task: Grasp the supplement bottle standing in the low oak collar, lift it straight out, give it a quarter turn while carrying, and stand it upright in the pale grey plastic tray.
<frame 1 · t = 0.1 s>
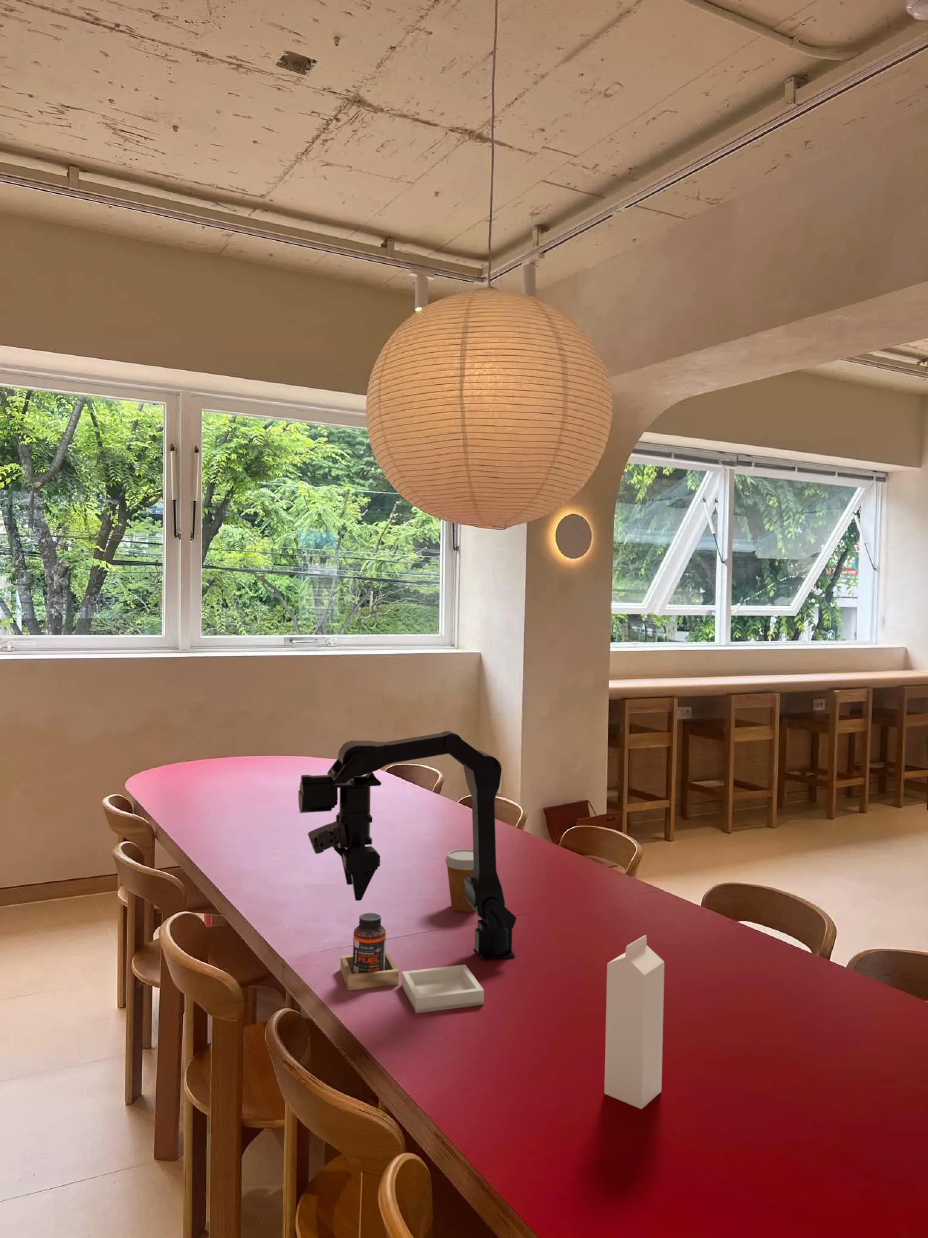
hand: (353, 892, 167), 15 cm above the table, fingers open, 9 cm apart
milk: (632, 1094, 127), on the table
supplement bottle: (368, 978, 164), resting in collar
collar: (368, 977, 164), on the table
disposable coffee cup: (465, 908, 201), on the table
tray: (441, 995, 157), on the table
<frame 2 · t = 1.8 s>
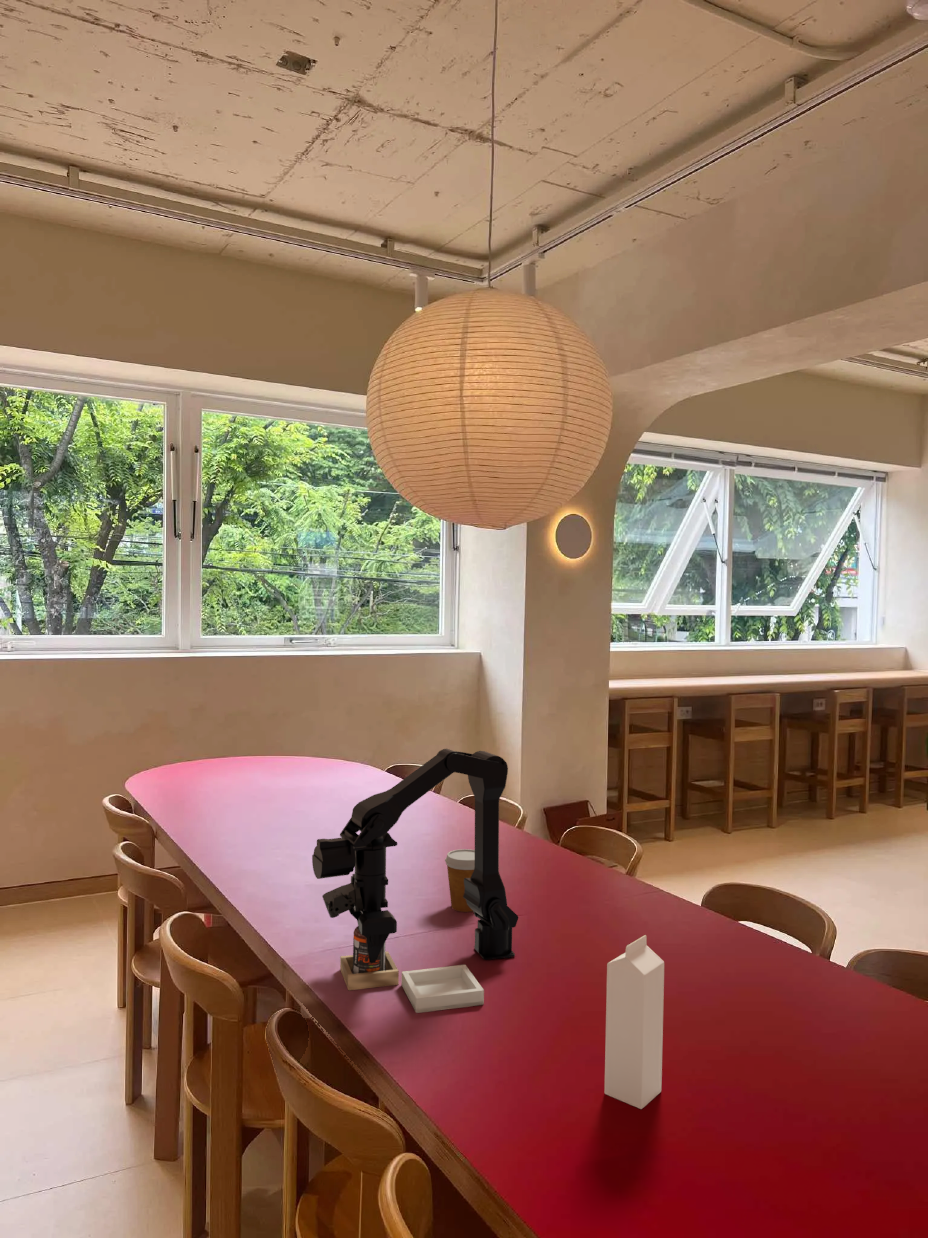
hand: (369, 955, 164), 4 cm above the table, fingers closed on supplement bottle, 6 cm apart
supplement bottle: (368, 978, 164), resting in collar, touching gripper
everything else where it was.
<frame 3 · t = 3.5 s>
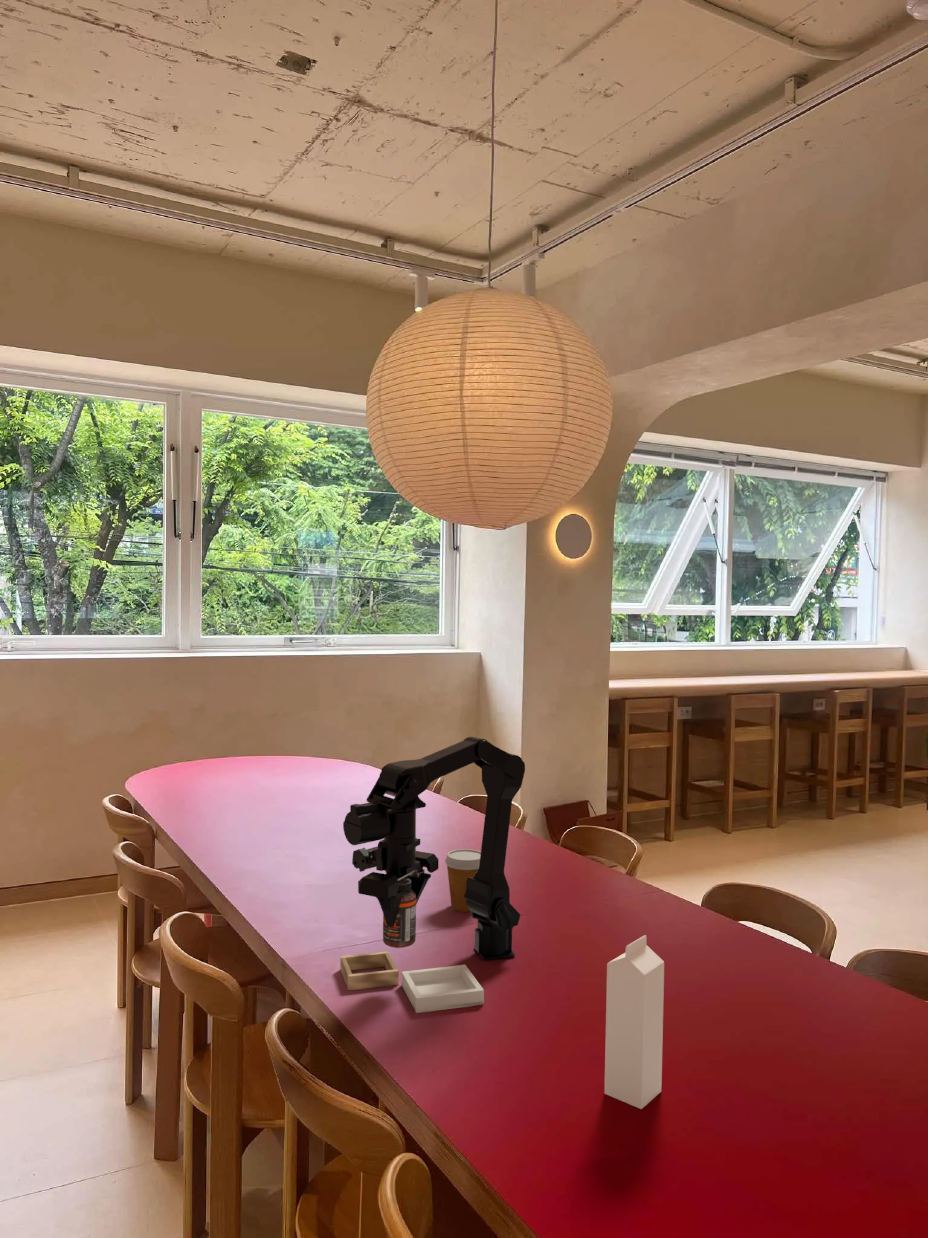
hand: (399, 920, 161), 12 cm above the table, fingers closed on supplement bottle, 6 cm apart
supplement bottle: (399, 944, 161), point 8 cm above the table, touching gripper
everything else where it was.
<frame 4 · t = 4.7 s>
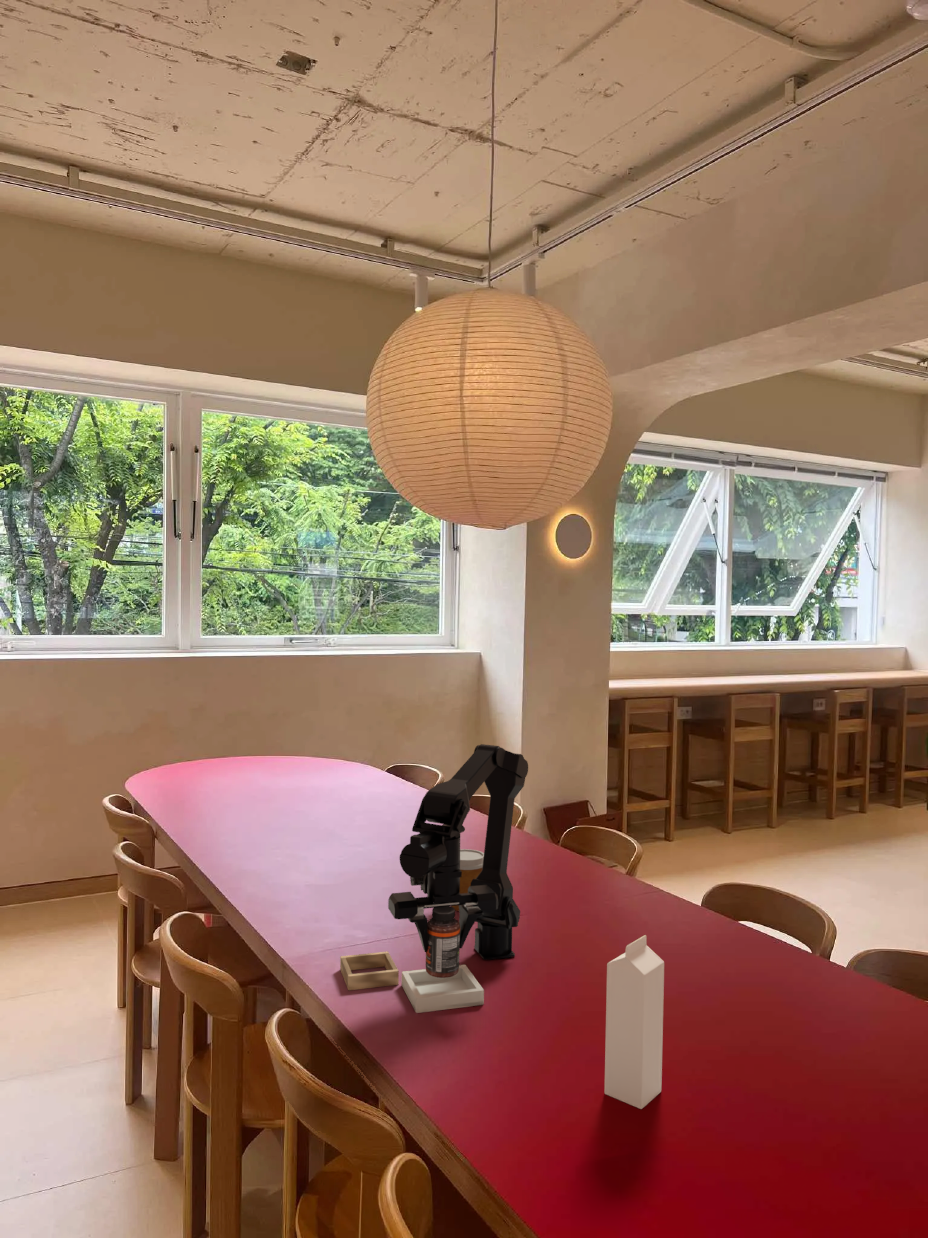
hand: (442, 949, 157), 8 cm above the table, fingers closed on supplement bottle, 6 cm apart
supplement bottle: (442, 973, 157), point 4 cm above the table, touching gripper
everything else where it was.
when the fingers open (6 cm above the table, at t = 5.5 s): supplement bottle drops 1 cm, resting on tray.
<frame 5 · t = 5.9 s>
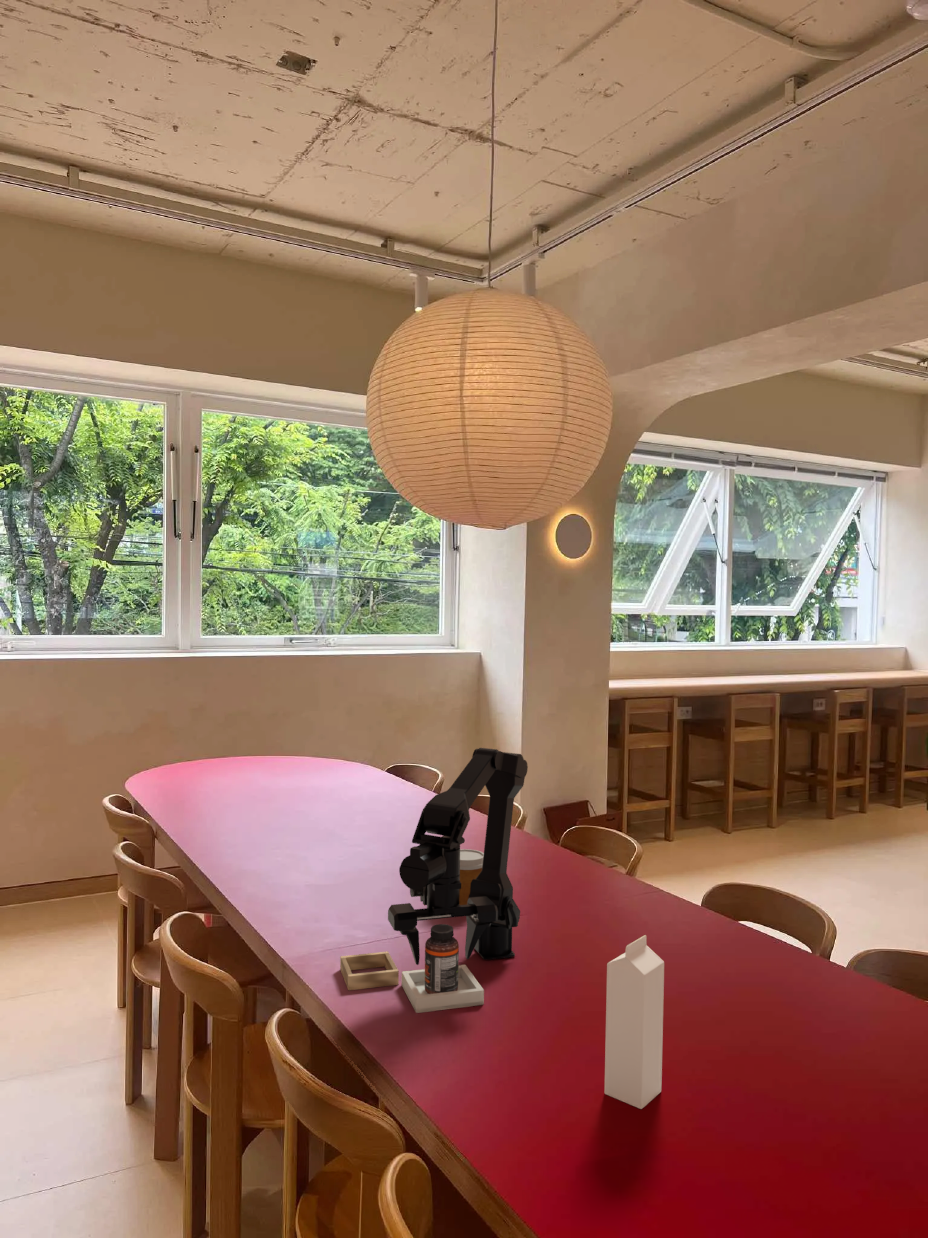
hand: (442, 961, 157), 6 cm above the table, fingers open, 9 cm apart
supplement bottle: (441, 992, 157), resting on tray
everything else where it was.
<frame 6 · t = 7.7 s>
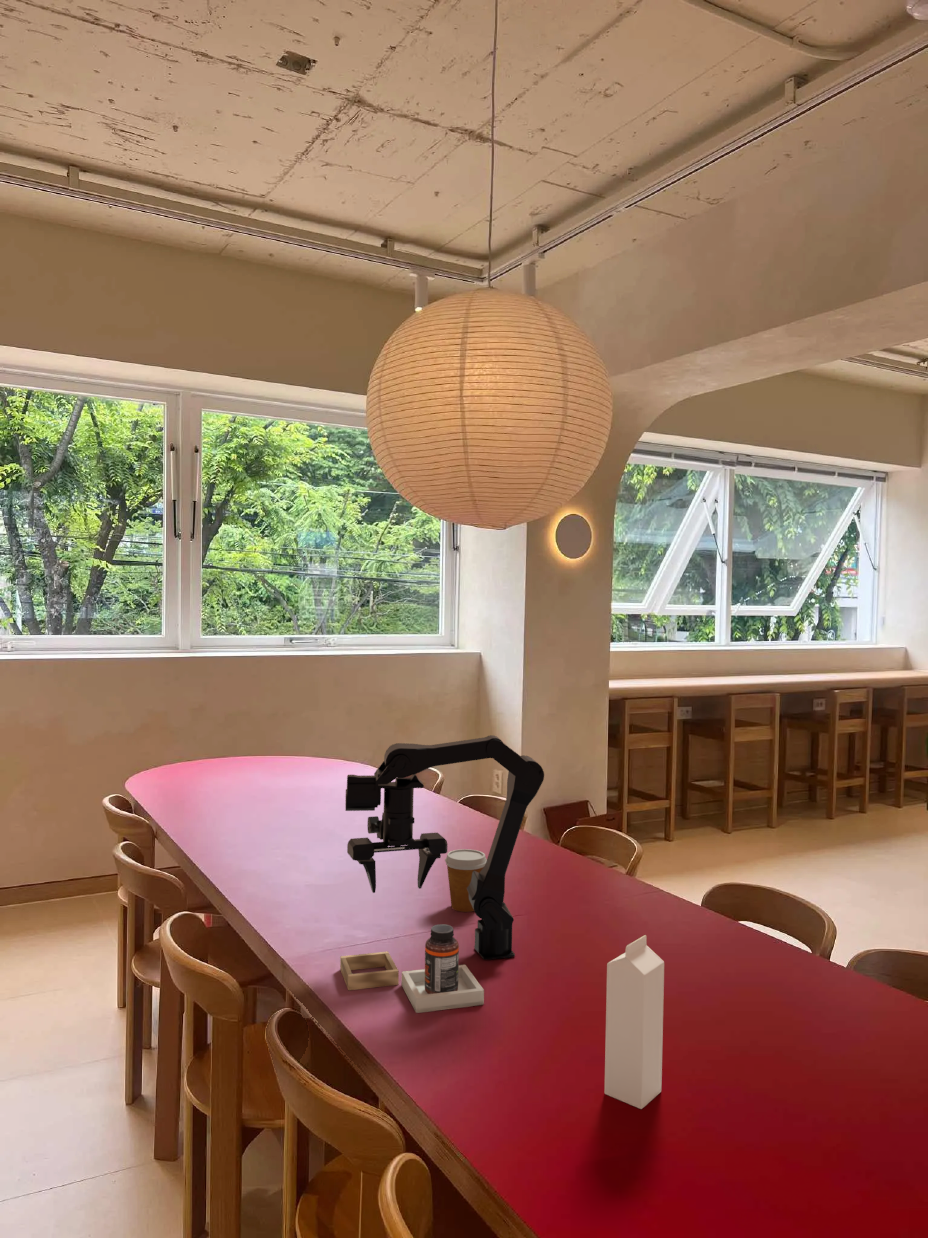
hand: (396, 890, 173), 13 cm above the table, fingers open, 9 cm apart
nothing on the table moved.
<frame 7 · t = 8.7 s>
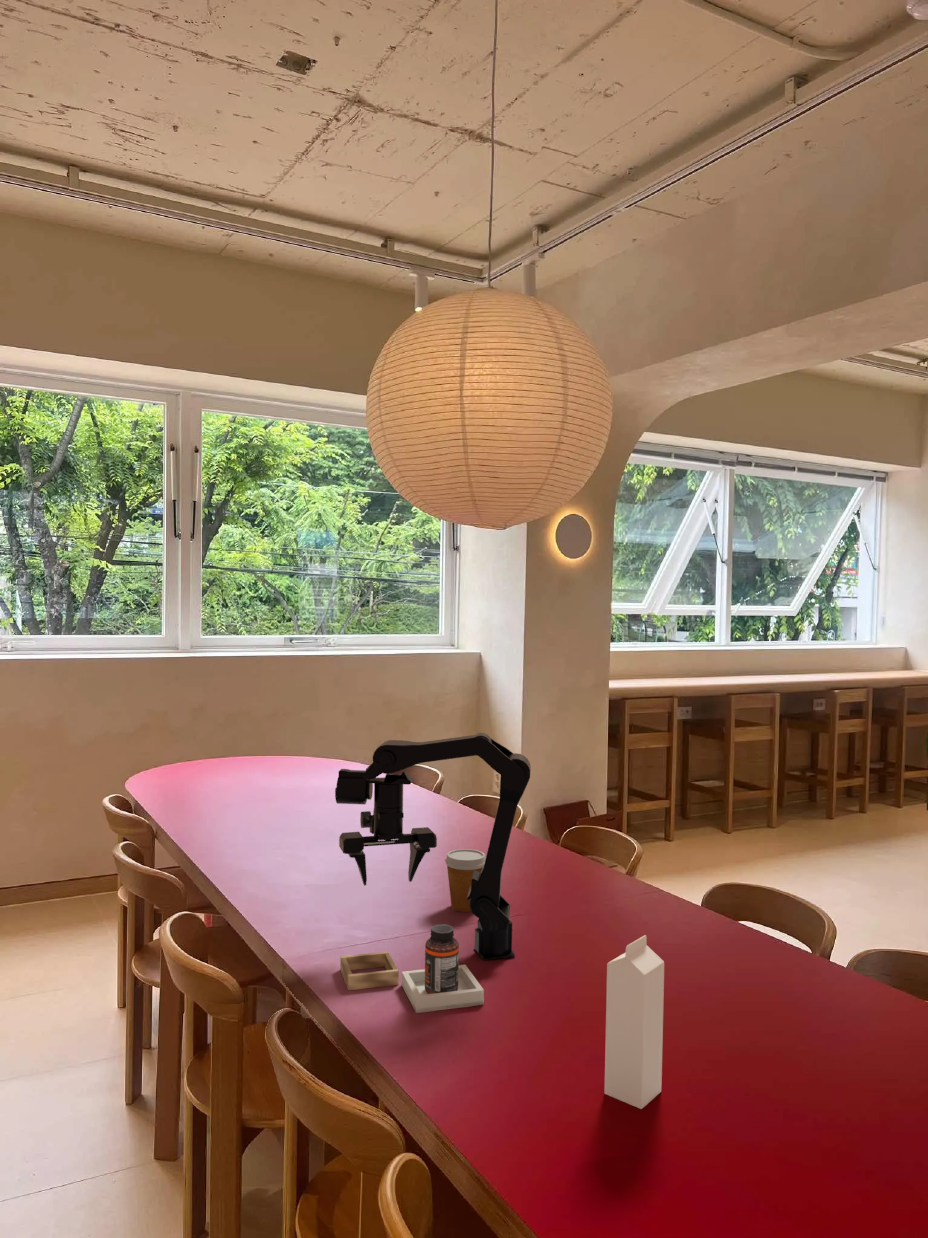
hand: (387, 883, 177), 13 cm above the table, fingers open, 9 cm apart
nothing on the table moved.
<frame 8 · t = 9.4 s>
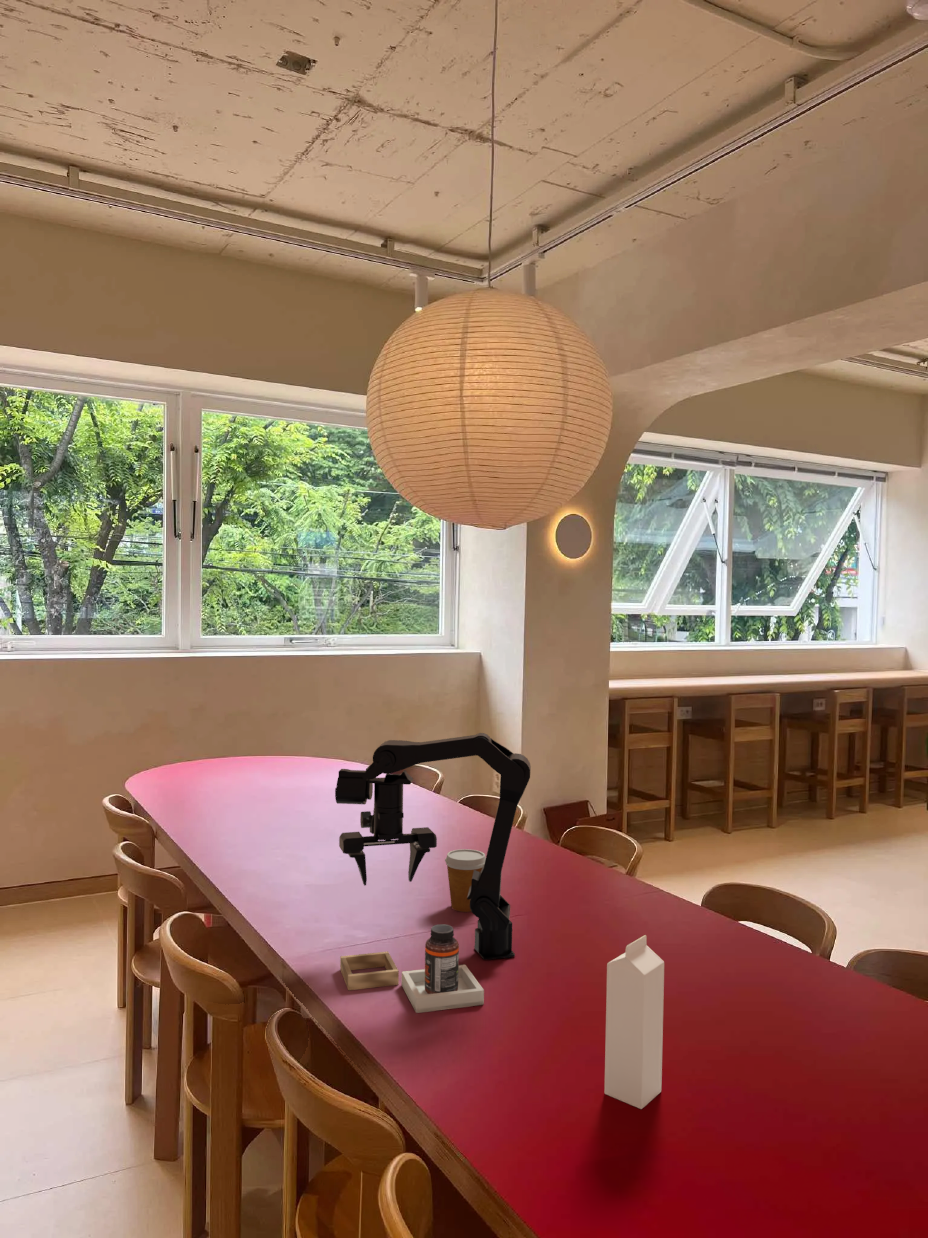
hand: (387, 883, 177), 13 cm above the table, fingers open, 9 cm apart
nothing on the table moved.
at the end: supplement bottle inside the target area on the tray (0.1 cm from its centre), point 0.4 cm above the tray's base; supplement bottle tilted 0°; the gripper is holding nothing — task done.
